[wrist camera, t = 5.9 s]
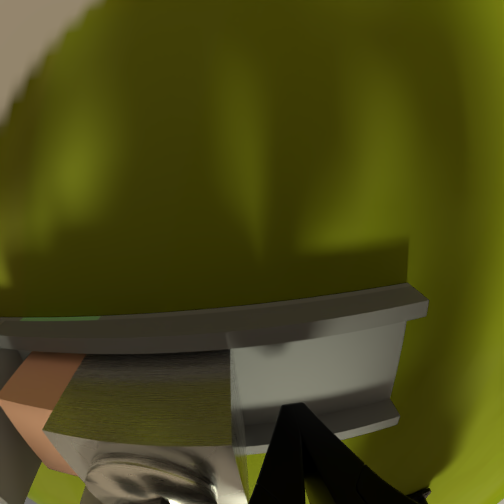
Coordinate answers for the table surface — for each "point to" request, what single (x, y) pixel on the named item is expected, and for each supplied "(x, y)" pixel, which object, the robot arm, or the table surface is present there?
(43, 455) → the block
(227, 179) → the table surface
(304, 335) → the gauge bench
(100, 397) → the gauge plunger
